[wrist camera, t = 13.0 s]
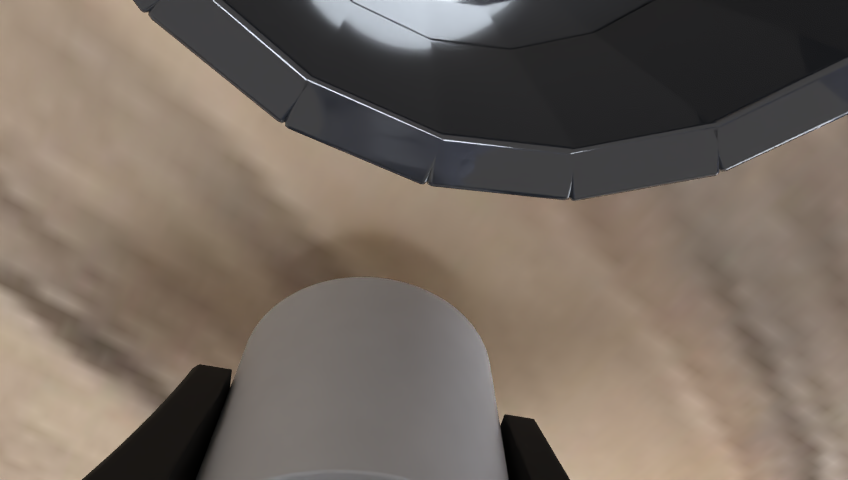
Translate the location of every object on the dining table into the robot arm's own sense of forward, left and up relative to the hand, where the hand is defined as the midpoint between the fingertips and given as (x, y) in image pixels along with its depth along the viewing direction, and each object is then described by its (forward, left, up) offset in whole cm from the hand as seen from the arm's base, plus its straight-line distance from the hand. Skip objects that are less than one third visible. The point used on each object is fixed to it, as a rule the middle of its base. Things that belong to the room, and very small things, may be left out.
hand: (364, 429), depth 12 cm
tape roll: (0, 0, -1) cm, 1 cm away
